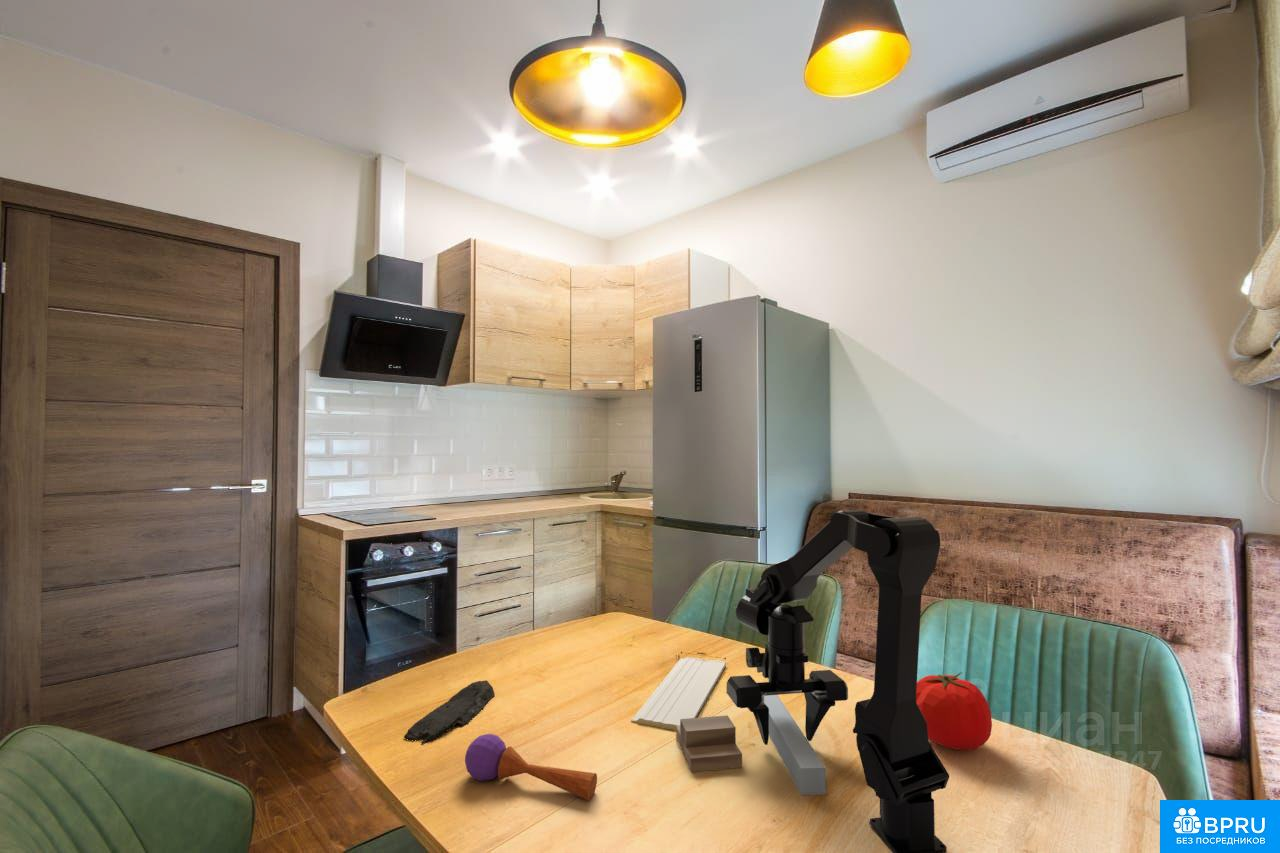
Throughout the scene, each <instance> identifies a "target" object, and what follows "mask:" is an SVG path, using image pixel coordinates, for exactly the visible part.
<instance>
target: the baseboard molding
mask: <svg viewBox="0 0 1280 853" xmlns="http://www.w3.org/2000/svg"><path fill="white" fill-rule="evenodd" d="M680 654H683V651H681V652H680ZM680 654H678V655H675V657H678V658H677V662H676V663H675V665H674V666H673V667H672V668H671V669H670V671H669V672H668V674H667V675H666V676H665V677H664V679H663V680H662V681H661V682H660V683H659V685H658V686H657V688H656V689H655V690H654V691H653V693H651V695H650V696H649V697H648V698H647V700H646V701H645V703H644V704H643V705H642V706H641V707H640V709H639V710H638V711H637V713H635V715H634V716H633V718H632V719H631V721H630V722H631V723H636V724H642V725H646V726H652V727H656V728H657V727H658V728H663V729H666V730H667V729H668V730H672V731H673V730H674V731H676V726H678V725H680V719H687V718H698V715H699V713H700V711H701V710H702V708H703V706H704V705H705V703H706V701H707V699H708V698H709V696H710V694H711V692H712V691H713V688H714V687H715V685H716V684H717V682H718V680H719V678H720V677H721V674H722V673H723V671H724V669H725V667H726V666H727V661H723V660H722V661H721V660H716V659H715V660H714V659H705V658H698V657H691V656H686V657H685V658H682V657H681V658H680ZM686 654H690V655H691V653H689V652H688V653H687V652H686ZM694 655H696V656H698V655H701V656H704V657H705V656H707V653H703V652H697V653H696V654H694ZM708 657H711V658H713V656H711V655H708ZM716 658H718V659H719V658H720V657H717V656H716ZM723 659H724V660H726V659H727V658H726V657H723Z"/></svg>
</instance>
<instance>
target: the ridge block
mask: <svg viewBox="0 0 1280 853" xmlns="http://www.w3.org/2000/svg"><path fill="white" fill-rule="evenodd" d="M736 728H737V727H736V726H735V724H734V722H733V721H732V720H731V718H730V717H729V715H718V716H717V715H715V716H702V717H696V718H687V719H680V725H678V726H676V730H675V731H676V732H675V738H676V741H677V743H678V745H679V747H680V750H681V751H682V752H681V753H682V754H683V756H684V759H685V761H686V764H687V766H688V768H689V770H690V772H691V773H694V772H696V773H697V772H707V771H716V770H717V771H718V770H725V769H726V770H728V769H729V770H730V769H736V768H738V769H739V768H743V753H742V751H741V750H740V748H739V747H738V745H737V742H736V739H737V732H736Z"/></svg>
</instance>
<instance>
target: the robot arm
mask: <svg viewBox="0 0 1280 853" xmlns="http://www.w3.org/2000/svg"><path fill="white" fill-rule="evenodd" d="M852 548H853V549H857V550H858V551H861V552H864V553H867V563H868V566H869V568H870V570H871V572H872V574H873V576H874V577H875V580H876V581H877V584H878V598H877V599H878V601H877V602H878V604H877V619H876V620H877V622H876V623H877V624H876V640H875V641H876V642H875V661H874V678H873V679H874V681H873V682H874V683H873V693H872V695H871V697H870V698H868V699H864V700H859V701H857V702H856V704H855V707H854V715H855V716H854V717H855V719H854V720H855V722H854V727H853V729H852V732H853V734H856V738H855V740H856V746H857V750H858V754H859V757H860V762H861V765H862V770H863V773H864V779H865V783H866V785H867V787H869V788H871V789H872V790H873V791H874V793H875V797H877V798H878V799H879V816H880V817H872V818H870V819H869V825H870V826H871V828H873V830H874V832H876V834H878V835H879V837H880V838H881V839H882V840H883V841H884V843H885V844H886V845H887V846H888V847H889V848H890V850H891V851H892V853H947V851H948V850H947V846H946V845H945V844H944V843H943V841H941V840H940V838H939V837H937V835H936V830H935V828H936V827H935V826H936V825H935V799H934V798H933V796H932V795H933V794H932V793H933V792H935V791H937V790H944V789H945V788H946V787H947V786H948V785H947V784H948V782H949V779H950V774H949V772H948V771H947V769H946V767H945V766H944V764H943V762H942V760H941V759H940V757H939V756H938V754H937V753H936V751H935V749H934V748H933V745H932V744H931V743H930V741H929V740H930V739H928V730H927V722H926V720H925V718H924V716H923V714H922V712H921V710H920V708H919V707H918V705H917V703H916V689H917V682H918V670H919V669H918V667H919V666H918V665H919V652H920V651H919V648H920V646H919V645H920V631H921V629H920V628H921V614H922V613H921V610H922V609H921V608H922V592H923V590H924V587H925V586H926V585H927V583H928V581H929V579H930V578H931V576H932V575H933V573H934V571H935V570H936V566H937V562H938V558H939V555H940V554H939V552H940V550H941V537H940V534H939V531H938V530H936V528H935V526H934V525H933V524H932V523H931V522H930V521H929V520H927V519H926V518H923V517H921V516H906V517H896V516H889V515H883V514H878V513H873V512H869V511H865V510H864V509H851V510H849V509H848V510H847V509H846V510H838V511H837V512H835V513H834V514H832V516H831V517H830V519H829V521H828V522H827V523H826V524H825V525H824V526H823V527H822V528H820V530H819V531H817V532H816V533H815V535H814V536H812V537H811V538H810V539H809V540H808V541H807V542H806V543H805V544H804V545H803V546H802V547H801V548H800V549H799V550H798V551H797V552H795V554H793V555H792V556H791V557H789V558H786V559H782V560H780V561H778V562H776V563H773V564H771V565H770V566H768V567H766V568H765V569H764V570H763V571H762V573H761V576H760V579H759V580H760V581H759V582H758V584H757V586H756V587H750V588H745V595H743V597H742V598H740V600H739V601H738V603H737V607H736V608H735V613H736V614H735V615H736V616H735V617H737V620H738V621H739V623H740V624H741V625H744V626H745V627H747V628H749V629H751V630H753V631H755V632H756V633H759V634H761V635H763V636H767V638H768V639H767V641H768V643H767V644H765V647H764V652H760V648H759V647H746V648H745V664H746V667H747V668H749V669H751V668H756V671H757V673H762V674H761V675H762V677H763V678H764V679H768V681H761V682H757V681H756V680H755V679H754V678H753V677H752V676H751V675H749V674H748V675H735V676H734V675H733V676H732V675H731V676H729V678H728V680H727V681H726V694H727V696H728V697H729V698H730V699H731V701H732V702H733V704H734V705H735V707H736V708H738V709H739V708H740V709H745V708H746V709H748V710H749V711H750V713H752V714H753V716H754V719H755V722H756V725H757V728H758V731H759V735H760V737H761V741H762V743H763V744H764V745H765V746H766V745H767V746H768V744H769V738H770V736H769V708H768V707H767V706H766V704H765V703H764V696H766V695H778V696H780V695H789V694H790V695H793V694H804V699H805V727H804V729H805V737H806V739H807V740H808V742H811V741H812V740H813V738H814V737H815V734H816V732H817V730H818V729H819V726H820V725H821V722H822V720H823V719H824V718H825V716H826V715H827V713H828V711H829V710H830V708H831V707H835V706H836V702H838V701H839V702H842V701H847V700H849V687H848V684H847V682H846V681H845V680H844V679H842V678H841V677H840V676H838V675H837V673H835V672H833V671H832V670H831V669H826V670H825V669H823V670H811V671H810V673H809V674H808V676H809V678H807V679H806V674H805V673H806V672H805V671H806V669H805V668H806V666H805V663H809V655H808V654H806V652H805V624H808V623H813V622H815V619H814V616H813V615H812V613H811V612H809V611H808V610H807V609H806V607H805V605H804V604H802V605H796V606H795V605H793V606H792V605H790V604H786V603H793V602H801V601H805V600H807V599H808V598H809V597H810V596H811V595H812V593H813V592H814V591H815V589H816V588H817V585H818V579H819V577H820V575H822V574H823V573H824V572H826V570H828V569H829V568H830V567H831V566H832V565H834V564H835V563H836V562H837V561H838V560H839V559H841V557H842V556H844V555H845V554H846V553H848V552H849V551H850V550H851V549H852Z"/></svg>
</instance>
